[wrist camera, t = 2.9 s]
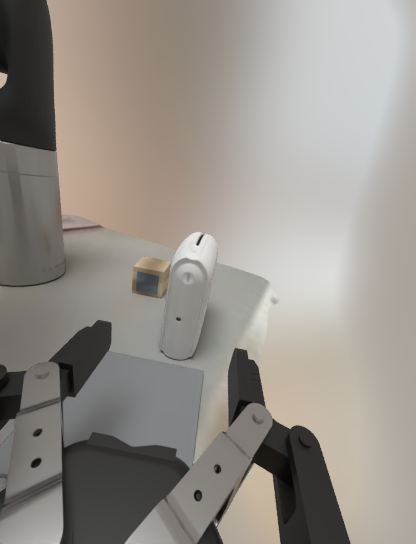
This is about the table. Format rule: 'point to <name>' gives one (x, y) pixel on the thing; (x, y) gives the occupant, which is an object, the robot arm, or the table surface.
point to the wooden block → (151, 277)
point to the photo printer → (188, 295)
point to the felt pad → (132, 406)
